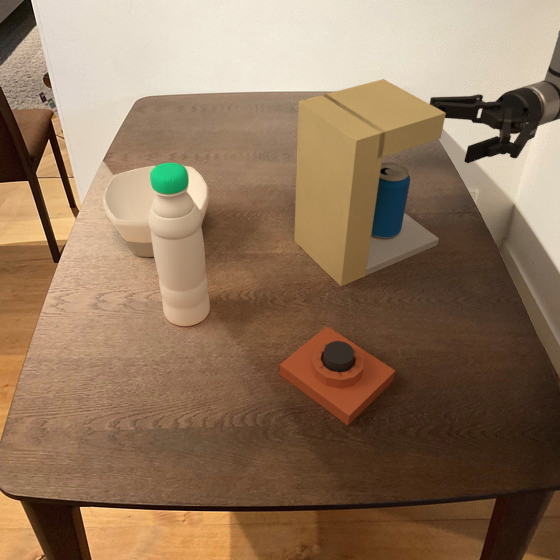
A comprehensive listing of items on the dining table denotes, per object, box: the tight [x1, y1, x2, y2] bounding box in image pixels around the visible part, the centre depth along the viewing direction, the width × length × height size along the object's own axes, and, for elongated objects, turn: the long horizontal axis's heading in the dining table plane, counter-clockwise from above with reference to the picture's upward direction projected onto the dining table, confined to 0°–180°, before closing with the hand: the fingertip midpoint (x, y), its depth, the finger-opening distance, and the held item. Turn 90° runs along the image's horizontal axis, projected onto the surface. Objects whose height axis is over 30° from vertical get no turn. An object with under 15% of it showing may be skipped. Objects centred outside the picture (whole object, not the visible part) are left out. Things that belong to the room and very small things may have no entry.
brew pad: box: [279, 326, 396, 426], centre depth 78 cm, size 12×10×4 cm
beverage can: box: [371, 161, 411, 239], centre depth 98 cm, size 6×6×12 cm
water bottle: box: [148, 162, 211, 327], centre depth 80 cm, size 7×7×25 cm
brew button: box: [323, 341, 354, 372], centre depth 76 cm, size 4×4×2 cm
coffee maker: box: [293, 78, 446, 287], centre depth 93 cm, size 14×21×26 cm, turn 122°
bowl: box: [102, 165, 210, 258], centre depth 100 cm, size 18×18×9 cm
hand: (437, 137), depth 95 cm, fingers open, 13 cm apart
